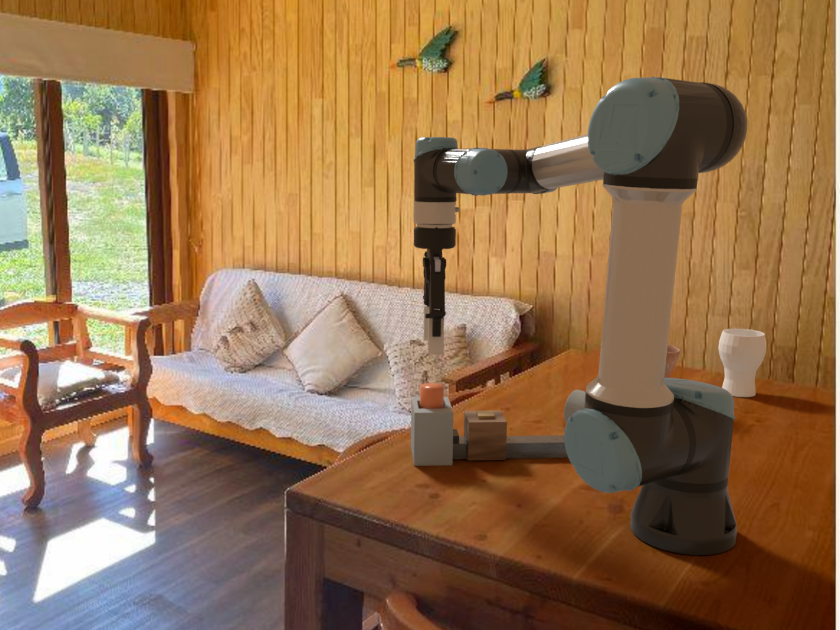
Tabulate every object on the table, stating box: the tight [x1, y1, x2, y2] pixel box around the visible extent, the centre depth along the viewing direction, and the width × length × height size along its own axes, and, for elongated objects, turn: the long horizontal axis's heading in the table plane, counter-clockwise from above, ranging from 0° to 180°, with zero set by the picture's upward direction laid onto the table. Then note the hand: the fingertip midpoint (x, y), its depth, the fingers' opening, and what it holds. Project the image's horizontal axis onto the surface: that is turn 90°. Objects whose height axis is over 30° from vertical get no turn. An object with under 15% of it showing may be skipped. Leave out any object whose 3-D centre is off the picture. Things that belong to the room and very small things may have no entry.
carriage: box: [463, 410, 508, 461], centre depth 153 cm, size 7×7×8 cm
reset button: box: [419, 382, 445, 409], centre depth 152 cm, size 4×4×6 cm
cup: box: [718, 328, 767, 398], centre depth 197 cm, size 11×11×15 cm
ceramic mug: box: [563, 389, 586, 424], centre depth 171 cm, size 11×8×8 cm
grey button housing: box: [410, 396, 454, 467], centre depth 153 cm, size 10×7×10 cm
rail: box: [453, 428, 569, 460], centre depth 154 cm, size 4×24×4 cm, turn 94°
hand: (433, 346), depth 150 cm, fingers open, 10 cm apart
